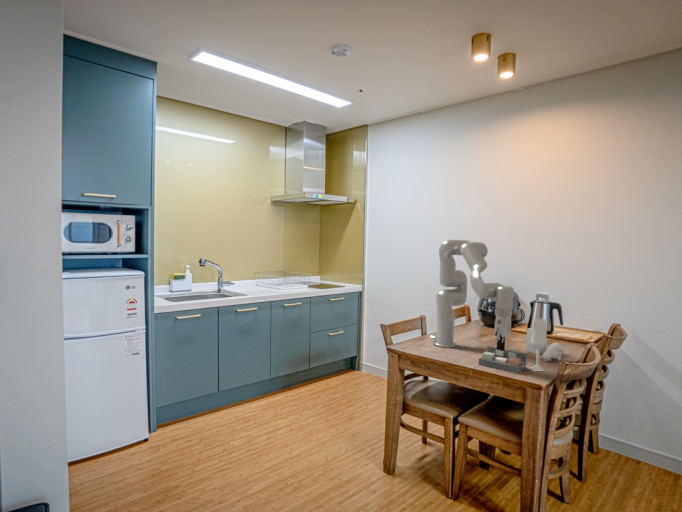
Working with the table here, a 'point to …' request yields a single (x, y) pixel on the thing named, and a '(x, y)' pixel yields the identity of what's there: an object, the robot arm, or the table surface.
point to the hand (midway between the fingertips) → (500, 349)
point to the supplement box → (529, 345)
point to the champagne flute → (538, 339)
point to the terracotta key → (514, 361)
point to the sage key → (488, 355)
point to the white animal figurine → (553, 352)
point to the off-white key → (501, 360)
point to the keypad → (504, 354)
